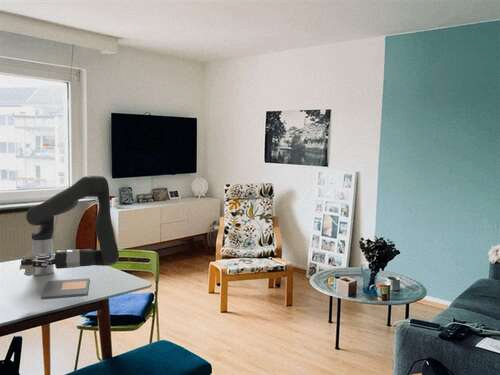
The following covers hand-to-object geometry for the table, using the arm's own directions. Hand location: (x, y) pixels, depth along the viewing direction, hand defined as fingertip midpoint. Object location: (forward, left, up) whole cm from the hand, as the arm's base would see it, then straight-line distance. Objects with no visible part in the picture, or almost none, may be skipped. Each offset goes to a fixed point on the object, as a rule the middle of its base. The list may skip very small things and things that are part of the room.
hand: (22, 261), depth 180 cm
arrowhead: (0, +3, -6) cm, 7 cm away
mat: (-14, +15, -17) cm, 27 cm away
